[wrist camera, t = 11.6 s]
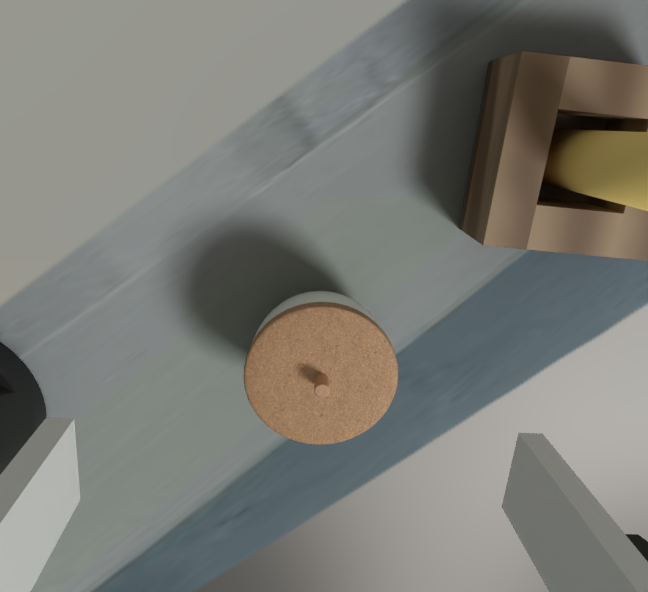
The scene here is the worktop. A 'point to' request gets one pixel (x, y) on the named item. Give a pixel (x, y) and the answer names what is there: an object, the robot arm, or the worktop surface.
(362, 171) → the worktop surface
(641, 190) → the dowel
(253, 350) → the lidded jar
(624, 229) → the socket block
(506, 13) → the worktop surface
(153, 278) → the worktop surface
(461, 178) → the worktop surface
